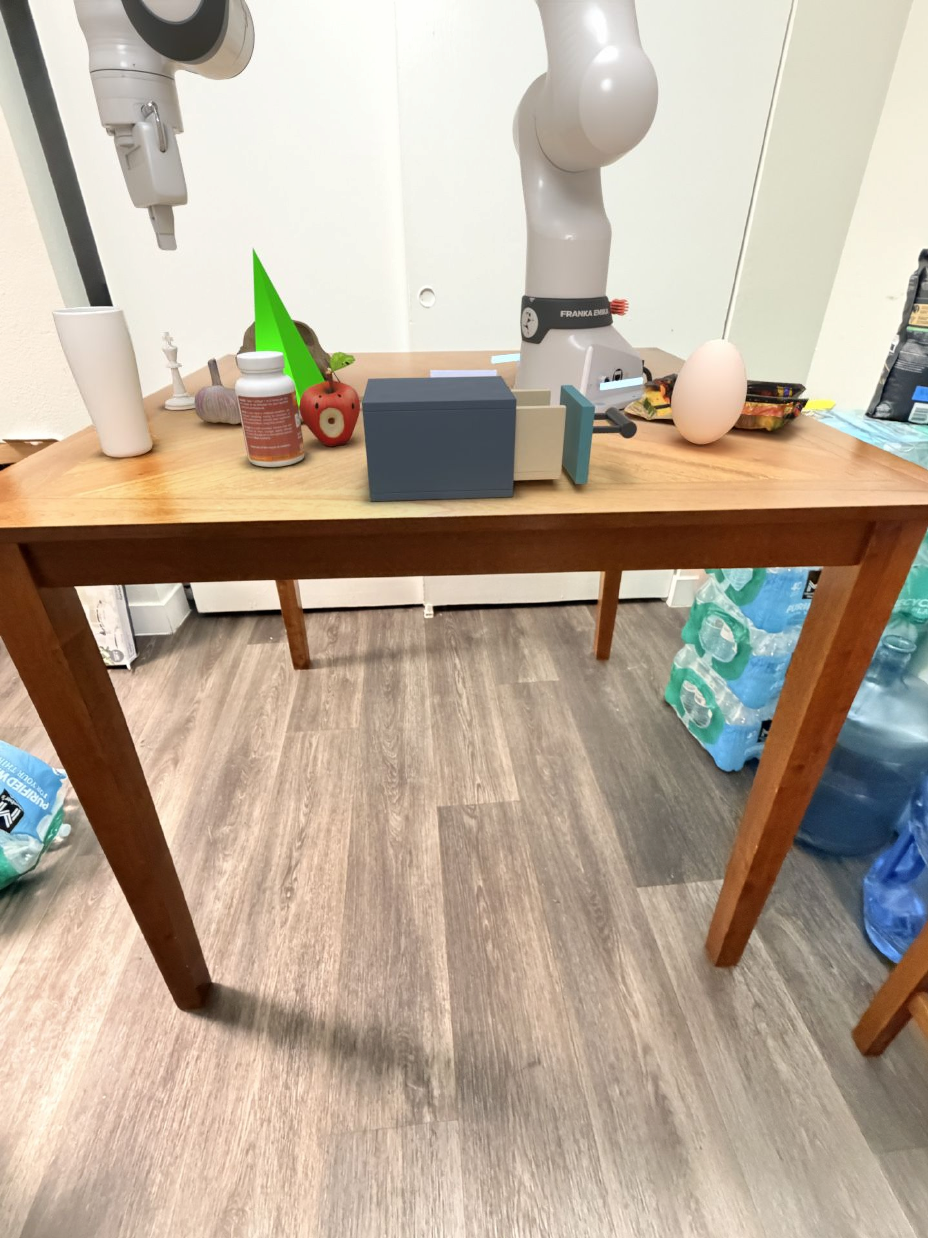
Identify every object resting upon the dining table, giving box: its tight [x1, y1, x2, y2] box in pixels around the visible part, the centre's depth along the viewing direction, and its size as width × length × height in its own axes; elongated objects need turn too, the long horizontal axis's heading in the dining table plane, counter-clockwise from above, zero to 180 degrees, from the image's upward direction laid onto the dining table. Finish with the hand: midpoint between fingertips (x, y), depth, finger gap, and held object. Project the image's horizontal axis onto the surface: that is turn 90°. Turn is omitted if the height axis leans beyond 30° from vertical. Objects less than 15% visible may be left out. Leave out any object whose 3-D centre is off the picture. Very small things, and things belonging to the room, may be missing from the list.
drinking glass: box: [51, 305, 153, 458], centre depth 69 cm, size 7×7×15 cm
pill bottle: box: [234, 351, 306, 468], centre depth 67 cm, size 6×6×11 cm
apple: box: [299, 351, 361, 447], centre depth 73 cm, size 8×7×10 cm
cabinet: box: [361, 375, 517, 502], centre depth 62 cm, size 14×11×9 cm
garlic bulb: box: [194, 357, 241, 425], centre depth 81 cm, size 8×7×8 cm
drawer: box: [510, 385, 638, 485], centre depth 62 cm, size 17×9×7 cm, turn 94°
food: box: [624, 373, 810, 432], centre depth 84 cm, size 22×19×4 cm
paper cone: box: [252, 248, 325, 423], centre depth 85 cm, size 11×5×25 cm
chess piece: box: [161, 331, 195, 411], centre depth 90 cm, size 5×5×10 cm
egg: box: [671, 338, 748, 445], centre depth 71 cm, size 8×8×11 cm
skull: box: [234, 319, 332, 381], centre depth 101 cm, size 17×18×14 cm
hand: (168, 250), depth 79 cm, fingers closed
